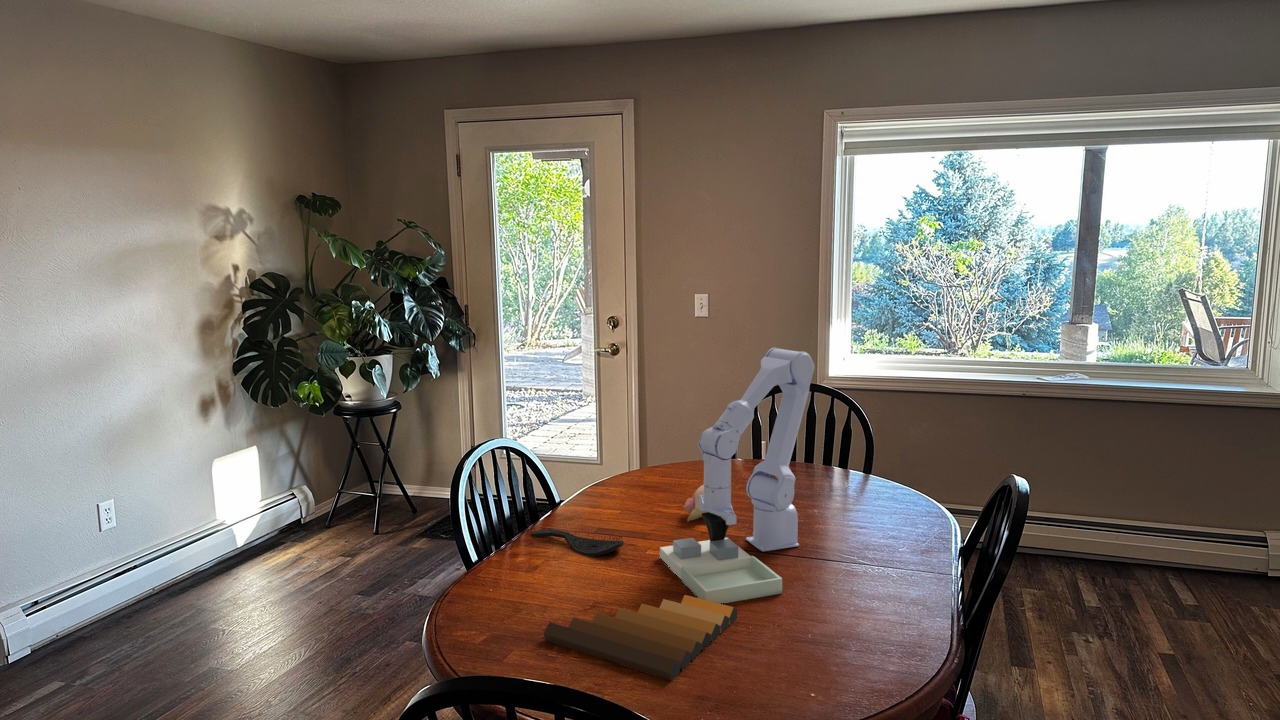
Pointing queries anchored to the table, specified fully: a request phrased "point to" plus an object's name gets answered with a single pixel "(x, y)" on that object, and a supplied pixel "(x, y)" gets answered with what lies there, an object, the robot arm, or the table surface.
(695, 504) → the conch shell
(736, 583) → the box
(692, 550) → the tile outer
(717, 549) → the squat square grey block
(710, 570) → the board
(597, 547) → the hairbrush
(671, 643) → the pan flute
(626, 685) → the table surface
